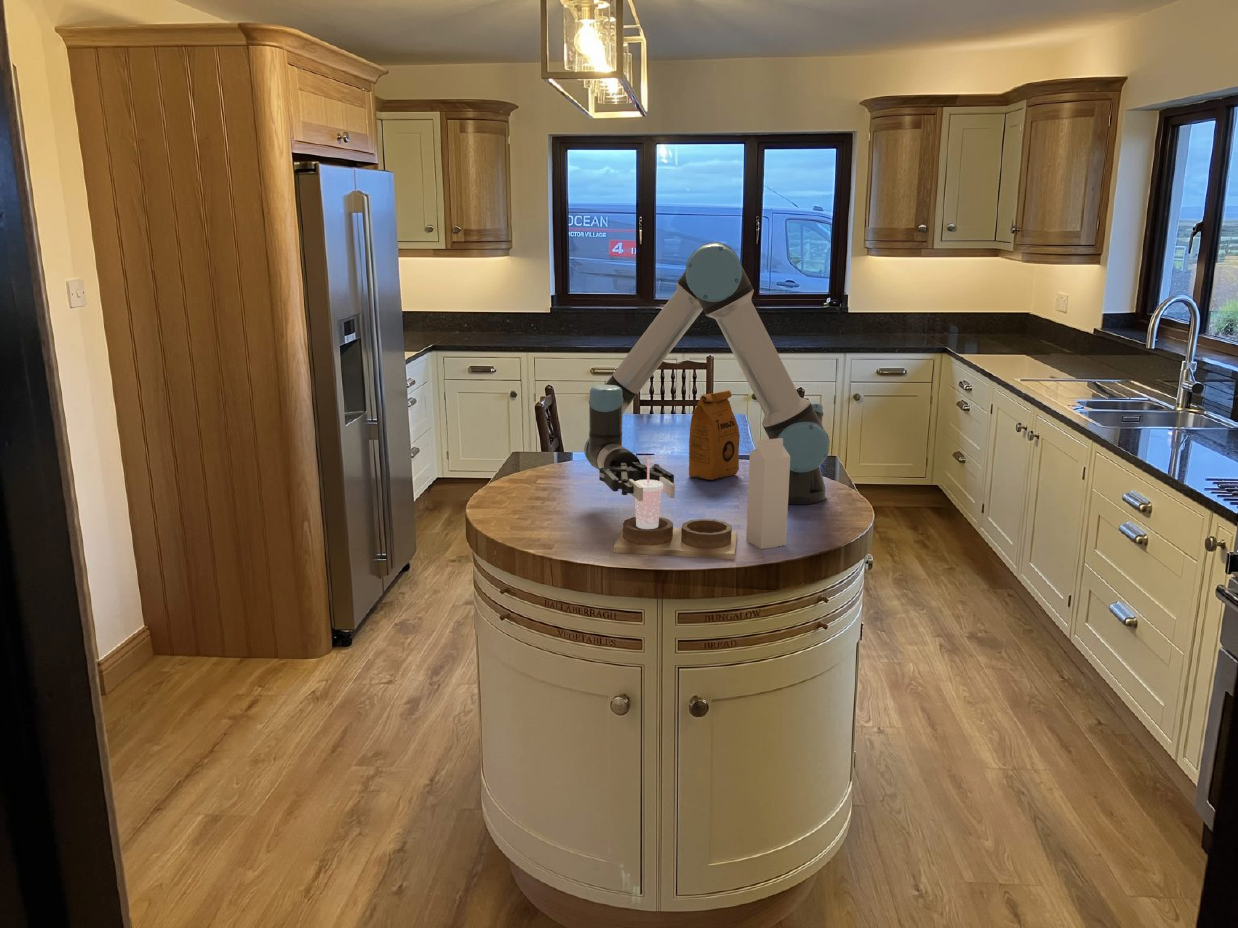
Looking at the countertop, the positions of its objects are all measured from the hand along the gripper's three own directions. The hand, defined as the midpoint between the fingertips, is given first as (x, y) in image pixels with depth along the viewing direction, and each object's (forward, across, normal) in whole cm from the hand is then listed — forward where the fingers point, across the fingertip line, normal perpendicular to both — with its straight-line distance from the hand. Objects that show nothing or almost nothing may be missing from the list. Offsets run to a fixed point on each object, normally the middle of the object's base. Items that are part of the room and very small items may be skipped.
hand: (657, 492), depth 194 cm
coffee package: (-49, -35, -12) cm, 61 cm away
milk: (+3, -23, -12) cm, 26 cm away
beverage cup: (-5, 0, -9) cm, 10 cm away
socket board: (-2, -6, -12) cm, 13 cm away
